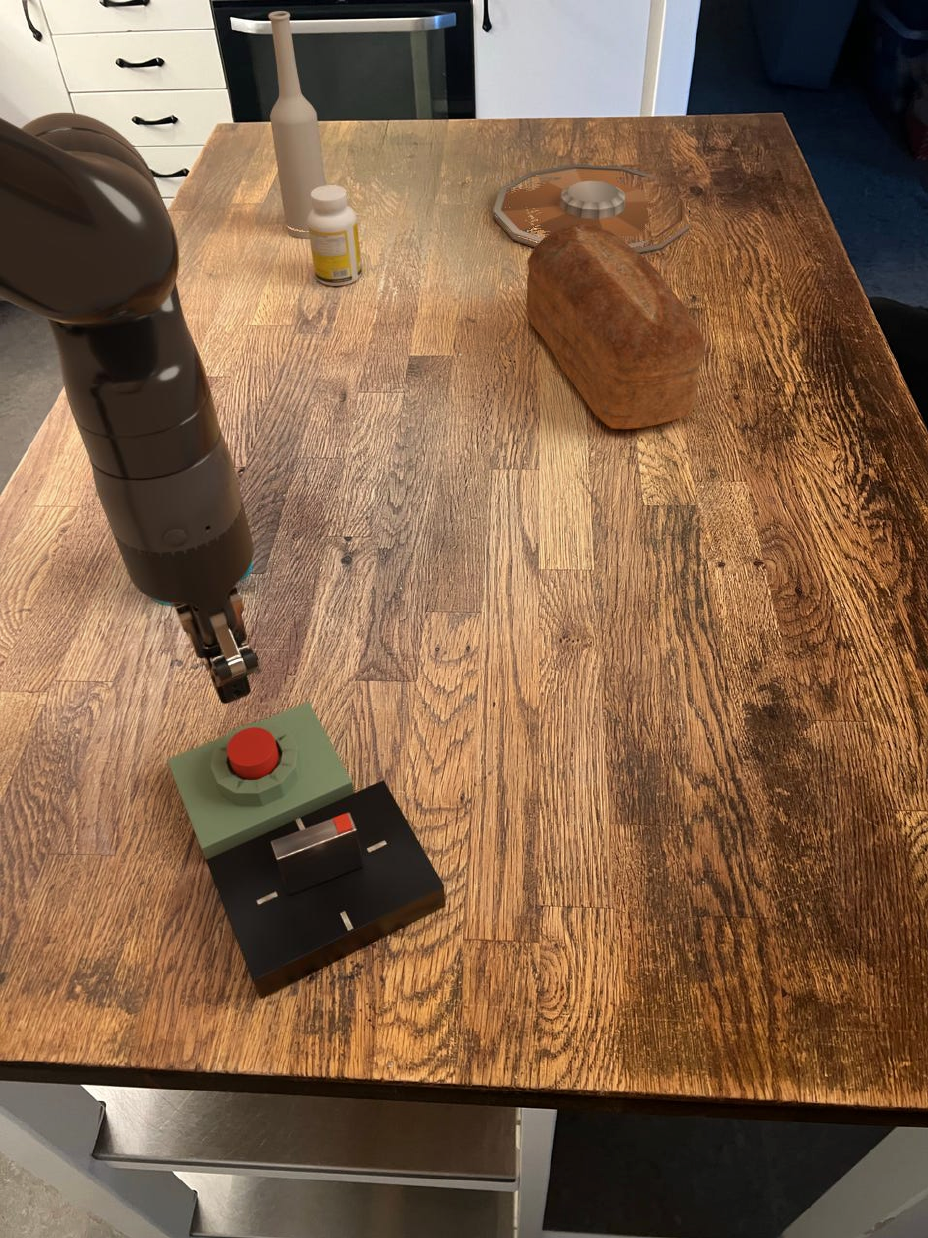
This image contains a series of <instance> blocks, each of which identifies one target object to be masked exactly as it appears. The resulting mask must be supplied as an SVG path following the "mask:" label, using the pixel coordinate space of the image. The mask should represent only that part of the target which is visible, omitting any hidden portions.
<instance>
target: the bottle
mask: <svg viewBox="0 0 928 1238" xmlns="http://www.w3.org/2000/svg"><path fill="white" fill-rule="evenodd" d="M267 16H268V19H269V20H270V25H271V26H270V27H271V31H272V39H273V40H272V41H273V46H274V53H275V60H276V69H277V70H276V71H277V83H278V90H279V91H278V93H279V94H278V98H277V100H276V102H275V104H274V105H273V107H272V109H271V112H270V115H269V121H270V125H271V132H272V139H273V147H274V154H275V159H276V160H275V161H276V166H277V173H278V180H279V188H280V194H281V200H282V209H283V214H284V219H285V220H284V221H285V225H286V224H287V225H288V226H289V227H291V228H294V229H298V230H303V231H309V229H308V221H307V219H308V215H309V213H310V212H311V210H312V209H314V207H313V206H312V202H311V192H312V191H313V190H314V189H315V188H318V187H321V186H325V185H327V182H326V175H325V174H326V173H325V167H324V160H323V159H324V158H323V151H322V144H321V143H322V142H321V137H320V136H321V135H320V128H319V121H318V114H317V111H316V109H315V108H314V106H313V105H312V104H311V103H310V102H309V100H307V99H306V97H305V96H304V95H303V94H302V93H303V92H302V91H301V85H300V80H299V79H300V78H299V75H298V70H297V63H296V56H295V50H294V44H293V43H294V42H293V36H292V27H291V23H290V18H291V14H290V12H289V11H284V10H279V11H272V12H270V13H268V15H267ZM287 225H286V226H285V227H286V232H287V233H288V234H289V235H290V236H292V237H294V238H297V239H310V236H309V232H299V231H294V230H291V229H289V228H288V227H287Z"/></svg>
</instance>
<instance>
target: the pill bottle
mask: <svg viewBox="0 0 928 1238" xmlns="http://www.w3.org/2000/svg"><path fill="white" fill-rule="evenodd" d="M348 201H349V199H348V193H347V189H346V188H345V187H343V186H341V185H337V184H326V185H325V186H321V187H318V188H315V189H314V190H313V191H312V192H311V202H312V206H313V207H314V209H312V210H311V212H310V213H309V215H308V219H307V221H308V229H309V236H310V238H309V242H310V250H311V256H312V262H313V263H312V264H313V271H314V275H315V278H316V280H317V281H318V282H319V283H321V284H323V285H325V286H331V287H340V286H341V287H342V286H347V285H350V284H352V283H354V282H357V280H359V279H360V277H361V275H362V273H363V270H362V269H363V268H362V258H361V257H362V256H361V249H360V238H359V230H358V229H359V228H358V221H357V214H356V213H355V211H354V209H353V208H352V207H350V206H349V205H348Z"/></svg>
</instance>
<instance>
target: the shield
mask: <svg viewBox="0 0 928 1238" xmlns="http://www.w3.org/2000/svg"><path fill="white" fill-rule="evenodd" d="M559 171H560V172H559ZM616 171H617V172H616ZM619 171H623V172H626V173H629V174H633V175H638V176H641V177H649V178H650V177H651V178H652V177H657V176H655V175H652V174H648V173H645V172H642V171H639V170H635V169H631V168H628V167H626V166H625V167H624V166H614V165H594V164H577V163H576V164H575V163H574V164H568V165H563V166H557V167H549V168H545V169H539V170H534V171H529V172H527V173H526V174H523V175H522V176H520V177H517V178H516V179H514V180H513V181H511V182H509V183H507V184H505V185H504V186H502V187H500V188H499V190H498V193H497V197H496V200H495V203H494V206H493V209H492V219H493V220H494V221H495V222H496V223H497V224H498V225H499V227H500V228H501V229H502V230H503V231H504V232H505V233H506V234H507V235H508V236H509V237H510V238H511V240H512V241H514V242H517V243H521V244H522V245H525V246H529V247H532V248H533V249H534V248H535V247H536V246H537V245H538V244H539V243H536V242H533V241H530V240H527V239H524V238H528V239H532V240H534V241H537V242H541V240H543V239H544V238H541V237H538V236H536V235H533V234H530V232H531V231H529V232H527V230H531V229H532V228H533V227H534V228H541V229H537V230H533V231H538V230H544V231H550V232H546V233H543V234H549V235H550V234H551V233H553V232H554V231H556V230H558V229H560V228H562V227H564V226H569V225H575V224H580V225H585V224H591V225H595V226H598V227H600V228H603V229H605V230H608V231H610V232H611V233H613V234H614V235H615V236H617V237H618V238H621V237H623V236H626V237H627V236H638V235H639V234H640V235H639V236H641V233H643V230H645V229H646V228H647V227H646V228H645V229H643V228H644V227H645V226H644V225H645V224H646V223H647V222H648V221H649V220H647V221H646V219H648V218H649V217H651V214H650V215H649V216H648V210H647V207H654V205H655V204H653V202H652V203H650V202H651V200H650V199H649V198H650V197H649V198H648V197H647V196H648V195H647V196H645V195H646V192H645V193H644V192H643V191H644V190H642V191H641V188H640V189H638V188H639V187H634V186H633V187H631V185H629V186H628V185H625V186H624V185H621V184H619V183H620V181H619V183H618V182H617V181H618V179H616V180H615V178H616V177H626V175H624V176H623V173H620V172H619ZM536 175H539V176H536ZM530 177H561V179H560V180H550V181H549V182H546V181H542V182H545V183H546V184H543V183H537V184H541V185H542V186H538V187H539V188H535V190H532V191H528V190H526V189H528V188H526V189H519V188H515V189H519V190H520V191H519V190H514V191H516V192H514V191H511V190H513V189H511V188H513V187H515V186H516V185H518V184H520V183H521V182H523V181H525V180H527V179H528V178H530ZM654 179H655V178H654ZM659 181H660V180H659ZM661 182H662V181H661ZM622 184H623V183H622ZM521 188H523V187H521ZM668 188H669V187H668ZM529 190H531V189H529ZM508 191H509V192H508ZM526 191H527V192H526ZM506 192H507V193H506ZM511 192H513V193H511ZM670 192H671V191H670ZM673 192H674V191H673ZM508 193H509V194H508ZM643 193H644V194H643ZM671 193H672V192H671ZM672 194H673V193H672ZM673 195H674V196H675V197H676V198H677V199H678V200H679V208H678V216H677V221H676V222H675V223H674V224H672V225H671V226H670V227H668V228H667V229H665V230H664V231H663V232H661V233H660V234H659V235H657V236H656V237H655V238H653V239H656V238H658V237H659V236H662V235H663V234H665V233H666V232H667V231H668V230H669V229H671V228H672V227H674V226H675V225H677V224H678V223H680V222H681V221H682V218H683V201H682V200H681V199H680V198H678V197H677V196H676V195H675V194H673ZM646 198H648V199H646ZM651 199H652V198H651ZM648 200H650V201H648ZM653 201H654V200H653ZM648 202H649V203H648ZM505 207H506V208H505ZM509 207H510V208H509ZM526 207H527V208H526ZM641 207H642V208H641ZM644 207H646V208H645V209H644ZM656 207H657V206H656ZM533 208H535V209H533ZM527 209H528V211H529V212H530V214H531V215H532V216H533V217H535V218H534V219H538V221H534V222H531V221H532V220H534V219H531V217H528V216H529V215H530V214H527V212H528V211H526V210H527ZM535 210H539V211H536V212H533V213H531V211H535ZM646 210H647V211H646ZM645 211H646V212H645ZM539 212H542V213H540V214H538V213H539ZM649 212H650V211H649ZM536 214H537V215H536ZM495 215H496V216H497V217H498V218H497V217H496V216H495ZM530 219H531V220H530ZM649 219H650V218H649ZM525 220H527V221H525ZM645 221H646V222H645ZM529 222H531V223H533V224H534V225H531V223H529ZM644 222H645V223H644ZM537 225H541V226H538V227H535V226H537ZM690 225H691V223H690V224H688V225H687V226H685V227H684V228H683V229H681V230H680V231H678V232H677V233H675V234H674V235H673V236H671V237H670V238H668V239H667V240H665V241H664V242H663V243H659V244H654V245H649V246H645V247H640V248H635V249H634V250H635V251H637V252H638V253H640V254H645V253H650V252H655V251H660V250H662V249H664V248H665V247H667V246H668V245H669V244H671V243H672V242H674V241H675V240H676V239H678V238H680V237H681V236H682V235H684V234H685V233H686V232H688V231H689V230H690ZM643 226H644V227H643ZM507 228H508V229H509V230H510V231H511V232H510V231H509V230H508V229H507ZM529 228H530V229H529ZM642 229H643V230H642ZM641 230H642V231H641ZM535 234H537V232H536V233H535ZM635 234H636V235H635ZM518 236H522V237H524V238H521V237H518ZM545 236H548V235H545ZM619 236H621V237H619ZM626 237H624V238H626ZM624 238H622V239H624ZM622 239H621V240H622ZM649 240H650V239H649ZM649 240H645V241H646V242H648V241H649ZM623 241H624V240H623ZM645 241H640V242H635V243H630V244H628V245H629V246H630V247H631V248H633V247H639V246H643V245H644V243H646V242H645ZM648 243H649V242H648ZM648 243H647V244H648ZM645 245H646V244H645Z"/></svg>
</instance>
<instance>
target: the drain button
mask: <svg viewBox="0 0 928 1238" xmlns="http://www.w3.org/2000/svg"><path fill="white" fill-rule="evenodd" d="M227 754H228V757H229V760H230V763H231V766H232V769H233V771H234V772H235V773H236V774H237V775H238V776H240V777H242V778H245V779H258V778H261V777H264V776H266V775H268V774H269V773H270V772H271V771H272V770H273V769H274V768H275V767H276V765H277V763H278V759H279V754H278V750H277V746H276V743H275V739H274V737H273V735H272V734H271V733H270V732H269V731H267V730H265V729H263V728H258V727H252V728H247V729H244V730H241V731H240V732H238V733H237V734H235V735H234V736H233V737H232V738H231V740H230V741H229V743H228V746H227Z"/></svg>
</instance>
